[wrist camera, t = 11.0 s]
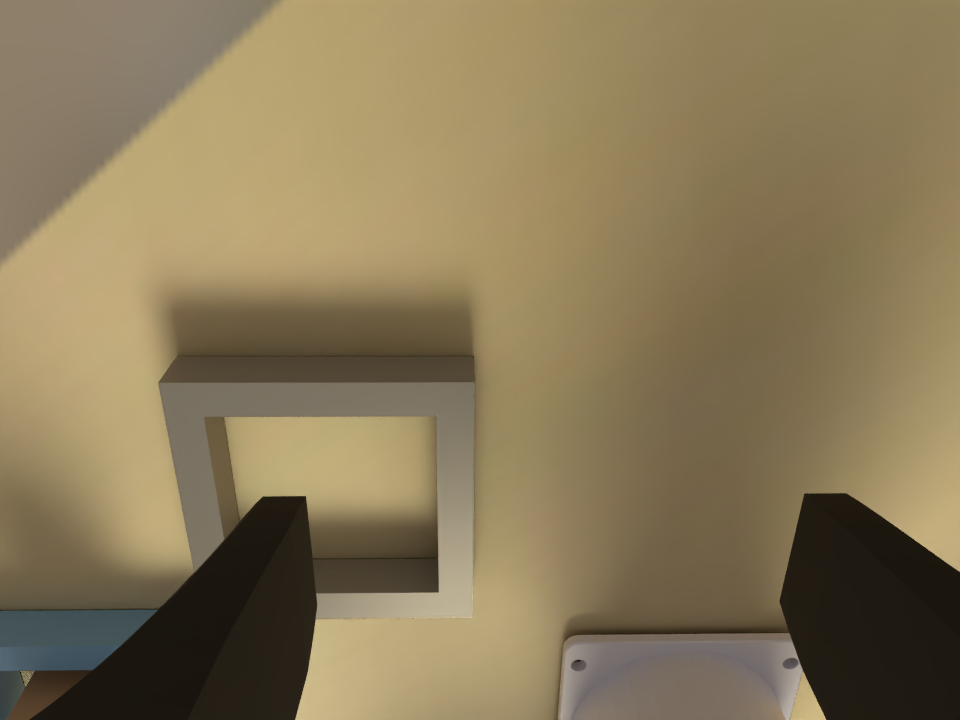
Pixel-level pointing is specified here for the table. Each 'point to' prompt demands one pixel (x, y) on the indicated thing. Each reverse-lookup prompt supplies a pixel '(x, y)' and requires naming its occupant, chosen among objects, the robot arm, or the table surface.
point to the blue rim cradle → (58, 643)
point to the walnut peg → (44, 691)
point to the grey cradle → (332, 393)
